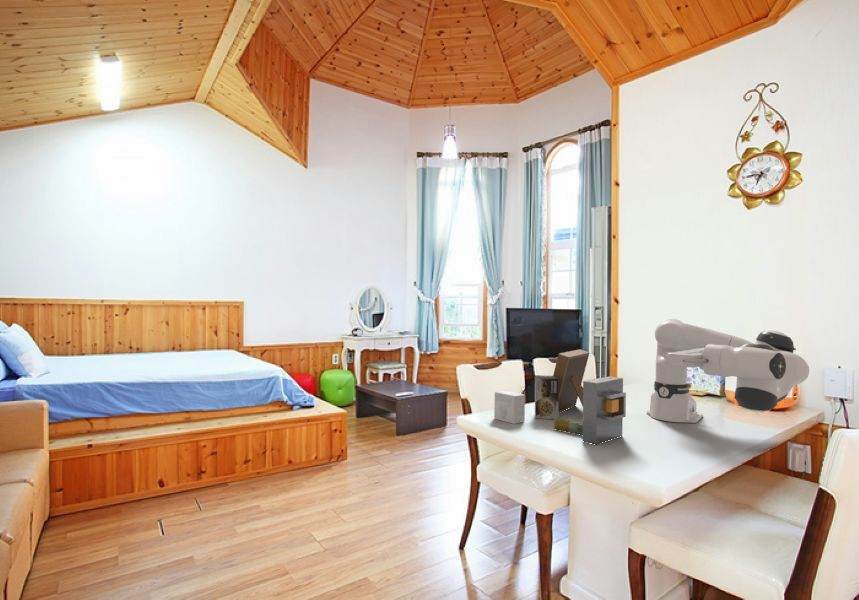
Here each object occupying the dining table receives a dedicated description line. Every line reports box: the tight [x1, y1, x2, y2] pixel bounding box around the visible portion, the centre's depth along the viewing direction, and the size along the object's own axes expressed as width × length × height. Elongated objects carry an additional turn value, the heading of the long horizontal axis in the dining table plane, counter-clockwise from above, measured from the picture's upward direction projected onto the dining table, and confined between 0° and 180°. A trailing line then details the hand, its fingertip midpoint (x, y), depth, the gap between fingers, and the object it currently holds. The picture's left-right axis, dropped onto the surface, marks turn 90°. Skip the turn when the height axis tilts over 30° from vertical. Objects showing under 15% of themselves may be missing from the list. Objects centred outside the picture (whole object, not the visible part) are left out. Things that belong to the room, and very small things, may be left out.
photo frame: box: [552, 349, 590, 414], centre depth 200 cm, size 15×22×25 cm
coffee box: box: [534, 374, 560, 420], centre depth 191 cm, size 9×6×16 cm
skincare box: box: [493, 390, 526, 425], centre depth 186 cm, size 10×6×10 cm, turn 39°
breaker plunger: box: [605, 398, 619, 413], centre depth 162 cm, size 4×10×4 cm, turn 39°
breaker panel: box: [582, 375, 627, 446], centre depth 161 cm, size 16×8×20 cm, turn 129°
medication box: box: [553, 417, 583, 436], centre depth 171 cm, size 12×3×4 cm, turn 46°
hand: (665, 355), depth 149 cm, fingers closed
